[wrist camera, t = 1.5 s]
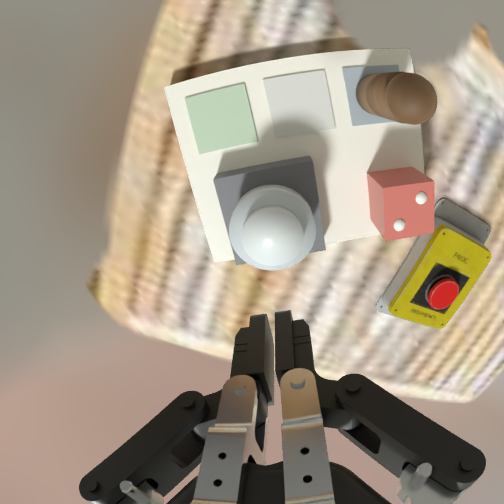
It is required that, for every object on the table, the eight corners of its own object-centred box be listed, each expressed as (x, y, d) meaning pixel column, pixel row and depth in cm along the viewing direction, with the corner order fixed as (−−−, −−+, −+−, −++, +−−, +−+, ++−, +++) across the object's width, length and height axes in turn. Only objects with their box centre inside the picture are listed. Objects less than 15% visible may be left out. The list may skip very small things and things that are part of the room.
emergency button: (381, 331, 32) (458, 209, 25) (371, 306, 36) (437, 193, 29) (438, 346, 33) (510, 243, 26) (426, 323, 37) (490, 225, 30)
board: (402, 49, 22) (419, 46, 19) (418, 220, 30) (433, 235, 27) (169, 87, 25) (156, 87, 22) (216, 255, 33) (211, 273, 30)
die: (412, 166, 26) (434, 181, 22) (413, 212, 28) (434, 233, 24) (366, 172, 26) (383, 188, 22) (370, 219, 28) (385, 241, 24)
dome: (304, 171, 25) (311, 188, 21) (315, 242, 28) (322, 269, 24) (225, 186, 26) (217, 205, 22) (243, 255, 29) (239, 283, 25)
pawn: (392, 72, 22) (443, 70, 14) (398, 113, 23) (450, 128, 16) (352, 75, 22) (390, 71, 14) (359, 117, 24) (399, 131, 16)
